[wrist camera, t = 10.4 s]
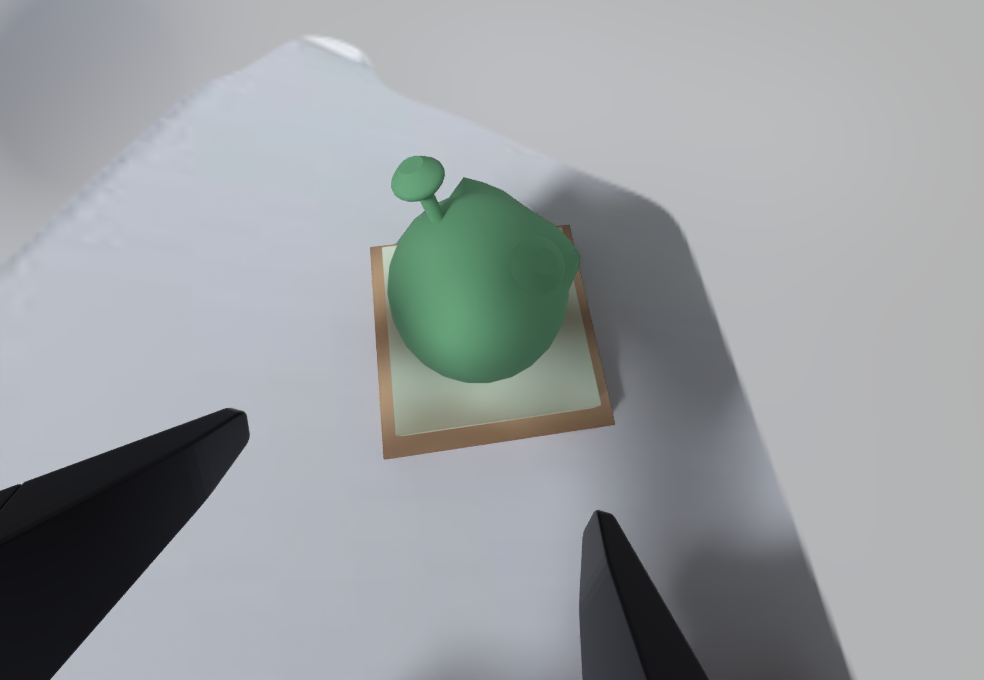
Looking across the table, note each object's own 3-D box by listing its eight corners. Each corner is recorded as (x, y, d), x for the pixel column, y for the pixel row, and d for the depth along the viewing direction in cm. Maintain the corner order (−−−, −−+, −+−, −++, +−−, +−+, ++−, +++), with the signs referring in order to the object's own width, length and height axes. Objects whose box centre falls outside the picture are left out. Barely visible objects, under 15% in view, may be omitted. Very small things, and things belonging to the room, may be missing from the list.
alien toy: (580, 307, 20) (677, 174, 10) (491, 426, 18) (505, 403, 8) (476, 233, 21) (472, 48, 11) (381, 339, 19) (278, 227, 9)
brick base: (603, 426, 21) (625, 422, 18) (392, 458, 21) (375, 460, 17) (562, 242, 25) (575, 209, 21) (378, 263, 24) (362, 233, 20)
